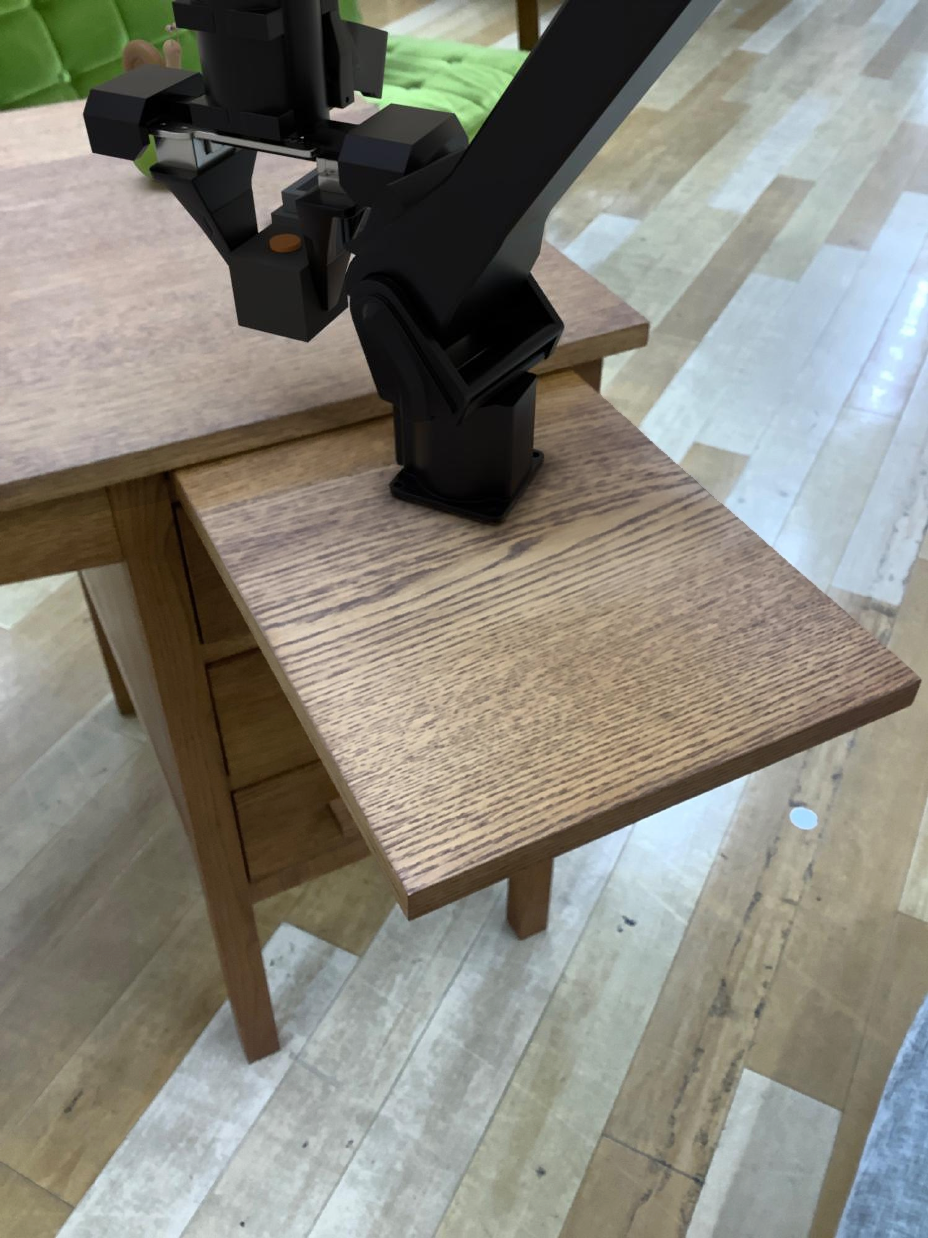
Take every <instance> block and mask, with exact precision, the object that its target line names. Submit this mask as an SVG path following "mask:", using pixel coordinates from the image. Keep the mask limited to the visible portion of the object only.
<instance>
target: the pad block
mask: <svg viewBox="0 0 928 1238" xmlns="http://www.w3.org/2000/svg"><path fill="white" fill-rule="evenodd" d="M258 232H259V233H257V234H256V235H255V236H253V237H252V238H250V239H249V240H248V241H246V242H245V243H243V244H242V245H241V246H239V247H238V248H236V249H235V250H233V251H232V252H231V253H229V254H228V255H227V259H228V265H229V266H228V265H227V266H228V272H229V276H230V282H231V283H230V284H231V289H232V294H233V300H234V307H235V312H236V319H237V325H238V326H239V327H242V328H243V327H244V328H246V329H250V330H254V331H259V332H262V333H266V334H271V335H275V336H280V337H282V338H287V339H290V340H295V341H299V342H303V343H307V344H309V343H310V342H311V341H312V340H313V339H314V338H315V337H316V336H318V335H319V334H320V333H321V332H322V331H323V330H324V329H326V327H327V326H329V325H330V324H331V323H332V322H334V320H336V319H337V318H338V317H339V316H340V315H341V314H342V313H344V312H345V311H346V310H347V309H348V308H349V296H348V295H347V294H346V293H345V290H344V283H345V278H344V281H343V285H342V289H341V292H340V296H339V299H338V302H337V304H336V305H335V306H334V307H333V308H332V309H331V310H329V311H325V310H322V308H321V306H320V303H319V300H318V298H317V295H316V292H315V289H314V286H313V281H312V277H311V272H310V268H309V263H308V259H307V254H306V250H305V245H304V241H303V236H302V232H301V229H300V228H295V227H291V226H286V225H281V224H276V223H272V222H271V223H270V224H268V225H267V226H266V227H264V228H263V229H261V230H260V231H258Z"/></svg>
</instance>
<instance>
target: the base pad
mask: <svg viewBox="0 0 928 1238" xmlns="http://www.w3.org/2000/svg"><path fill="white" fill-rule="evenodd" d="M317 174H318V172H317V166H316V167H315V168H313V169H311V171H309V172H308V173H306V174H305V175H303V176H302V177H300V178H298V179H297V180H295V181H294V182H292V183H291V184H289V185H288V186H287V187H286V188H284V189H282V190H281V191H280V194H281V202H282V205H280V206H279V207H277V208H276V209H274V210H273V211H271V212H270V219H271V224H272V223H276V224H281V225H286V226H291V227H295V228H300V223H299V219H298V214H297V210H296V205H295V200H296V199H297V198H299V197H300V196H302V195H303V194H304V193H306V192H307V191H309V190H310V189H312V188H313V187H314V186H316V185H317V184H318V175H317ZM370 210H371V208H369V207H368V208H367V210H366V212H365V215H364V217H363V220H362V222H361V224H360V227H359V230H358V232H357V235H356V237H357V236H358V234H359V233H360V232H361V231H362V230H363V228H364V226H365V224H366V222H367V219H368V216H369V213H370ZM300 229H301V228H300Z"/></svg>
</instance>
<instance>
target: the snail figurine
mask: <svg viewBox="0 0 928 1238" xmlns="http://www.w3.org/2000/svg"><path fill="white" fill-rule="evenodd" d="M179 30H180V28H176V24H175V21H173V23H172V25H171V24H167V25H166V26H165V32H167V33H168V34H169V36H170V39H167V40H165V41H164V43H163V45H162V51H163V55H164V57H165V58H164V57H163V55H162V53H161V52H160V51H159V50H158V49H157V48H156V47H155V46H154V45H153V44H152V43H150V42H148V41H147V40H145V39H133V40H130V41H129V42H127V43H126V45H125V47H124V49H123V51H122V57H121V58H122V61H121V62H122V69H123V72H124V73H126V72H128V71H130V70H133V69H135V68H137V67H139V66H141V65H144V64H152V65H158V66H164V67H171V68H177V69H182V63H181V62H182V61H181V59H182V55H183V50H182V46H181V44H180V42H179V41H180V40H179V39H180V38H179V33H178V31H179ZM174 31H175V33H176V38H177V39H176V40H175V39H173V37H172V36H173V35H172V33H173V32H174ZM149 138H150V145H149V146H148V148H147V149H146V151H145V152H144V154H143V155H142V156H141V157H140V158H139V159H137V160H135V161H132V162H133V164H134V166H135V167H136V168H137V169H138V171H139V172H140V173H141V174H143V175H144V176H145V177H147V178H148V179H150V180H152V181H154V180H153V179H152V177H151V175H150V172H149V168H150V167H151V166H152V165H154V164H156V163H157V162H158V159H157V154H156V149H155V144H154V140H153V135H149Z"/></svg>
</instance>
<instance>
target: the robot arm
mask: <svg viewBox="0 0 928 1238" xmlns="http://www.w3.org/2000/svg"><path fill="white" fill-rule="evenodd" d="M721 2H722V0H564V1H563V2H562V3H561V5H560V7H559V8H558V9H557V11H556V13H555V14H554V16H553V17H552V19H551V20H550V22H548V23H549V24H547V26H546V28H545V29H544V31H542V34H541V35H540V37H539V38H538V40H537V41H536V42H535V44H534V46H533V47H532V49H531V50H530V52H529V54H528V55H527V57H526V58H525V59H524V60H523V63H522V64H521V66H520V67H519V68H518V70H517V71H516V73H515V74H514V76H513V77H512V79H511V81H510V82H509V84H507V87H506V88H505V89H504V91H503V93H502V94H501V95H500V97H499V99H498V100H497V101H496V103H495V105H494V106H493V108H492V109H491V111H490V112H489V113H488V115H487V117H486V118H485V120H484V122H483V123H482V124H481V126H480V127H479V129H478V130H477V132H476V133H475V135H474V136H473V138H472V140H471V141H470V137H469V136H468V134H467V132H466V130H465V128H464V127H463V125H462V123H461V122H460V119H459V118H458V117H457V114H456V113H455V112H450V111H442V110H437V109H431V108H425V107H417V106H412V105H406V104H399V103H394V102H391V103H388V104H387V105H386V106H384V107H383V108H382V109H380V110H379V111H377V112H376V113H374V114H372V115H371V116H370V117H368V118H366V119H365V120H363V121H361V123H351V122H346V121H339V120H334V119H331V113H330V111H332V110H334V109H338V110H339V109H340V110H344V109H345V108H347V107H349V106H350V105H352V104H353V103H355V100H356V99H355V92H359V93H360V94H361V95H362V97H364V98H371V99H377V100H382V99H383V91H384V81H385V71H386V70H385V69H386V60H387V59H386V58H387V51H388V50H387V49H388V40H389V39H388V38H389V31H387V30H383V29H381V28H378V27H373V26H370V25H366V24H362V23H359V22H356V21H351V20H346V19H342V18H341V14H340V5H339V4H340V3H339V0H173V1H171V6H172V7H171V8H172V13H173V18H174V22H175V24H176V28H179V29H183V30H190V31H194V33H195V38H196V44H197V45H196V46H197V50H198V56H199V64H200V70H201V72H200V71H195V70H188V69H182V68H181V69H177V68H171V67H164V66H158V65H152V64H144V65H141V66H139V67H137V68H135V69H133V70H130V71H128V72H126V73H125V72H124V73H122V74H119V75H118V76H115V77H112V78H110V79H109V80H107V81H105V82H102V83H100V84H98V85H96V86H93V87H91V88H90V89H89V91H88V94H87V98H86V101H85V105H84V107H83V112H82V118H83V122H84V126H85V130H86V134H87V138H88V142H89V146H90V150H91V153H92V154H96V155H102V156H106V157H111V158H115V159H120V160H126V161H131V162H133V161H135V160H137V159H139V158H140V157H141V156H142V155H143V154H144V152H145V151H146V149H147V148H148V146H149V145H150V138H149V135H153V140H154V144H155V149H156V154H157V159H158V162H157V163H156V164H154V165H152V166H151V167H150V168H149V172H150V175H151V177H152V179H153V180H152V179H151V180H152V181H155V182H158V183H162V184H164V185H165V186H166V188H167V189H168V190H169V192H170V193H171V194H172V195H173V196H174V197H175V199H176V200H177V201H178V202H179V203H180V204H181V206H182V207H183V208H184V209H185V211H186V212H187V213H188V214H189V216H190V217H191V218H192V219H193V220H194V222H195V223H196V224H197V225H198V227H200V229H201V230H202V232H203V233H204V234H205V236H206V237H207V239H208V240H209V241H210V243H211V244H212V246H213V247H214V248H215V249H216V251H217V252H218V254H219V256H221V258H222V259H223V261H224V262H225V263H226V265H227V267H229V265H228V259H227V255H228V254H229V253H231V252H232V251H233V250H235V249H236V248H238V247H239V246H241V245H242V244H243V243H245V242H246V241H248V240H249V239H250V238H252V237H253V236H255V235H256V234H257V233H259V232H260V231H259V226H258V219H257V211H256V205H255V198H254V191H253V174H254V169H255V166H256V165H255V164H256V161H257V155H258V152H259V153H264V154H271V155H276V156H280V157H281V156H282V157H286V158H291V159H297V160H302V161H308V162H313V163H316V167H317V172H318V174H317V175H318V184H317V185H316V186H314V187H313V188H312V189H310V190H309V191H307V192H306V193H304V194H303V195H302V196H300V197H299V198H297V199H296V200H295V205H296V210H297V214H298V219H299V223H300V228H301V232H302V236H303V241H304V245H305V250H306V254H307V259H308V263H309V268H310V272H311V277H312V281H313V286H314V289H315V292H316V295H317V298H318V300H319V303H320V306H321V308H322V310H325V311H329V310H331V309H332V308H333V307H334V306H335V305H336V304H337V302H338V299H339V296H340V292H341V289H342V285H343V281H344V278H345V283H344V290H345V293H346V294H347V295H348V297H349V300H348V307H349V313H350V317H351V320H352V323H353V327H354V330H355V333H356V335H357V338H358V340H359V341H358V342H359V343H360V347H361V349H362V352H363V355H364V358H365V361H366V364H367V367H368V369H369V372H370V375H371V378H372V381H373V384H374V387H375V390H376V392H377V395H378V397H379V399H381V400H382V401H384V402H387V403H389V404H392V405H391V406H392V423H393V441H394V458H395V462H396V464H397V466H400V467H402V468H400V470H399V471H398V473H396V475H394V477H393V478H392V479H391V481H390V482H389V484H388V491H389V494H390V495H391V496H393V497H396V498H400V499H402V500H403V499H404V500H407V501H411V502H413V503H417V504H421V505H425V506H428V507H431V508H435V509H438V510H441V511H446V512H448V513H452V514H456V515H459V516H463V517H466V518H468V519H473V520H477V521H480V522H484V523H487V524H490V525H498V524H499V525H500V524H501V523H502V522H503V521H504V520H505V519H506V518H507V516H508V514H509V513H510V512H511V510H512V508H513V507H514V506H515V504H516V503H517V502H518V500H519V498H520V497H521V496H522V494H523V493H524V491H525V490H526V488H527V487H528V486H529V484H530V482H531V481H532V480H533V478H534V477H535V475H536V474H537V472H538V471H539V469H541V467H542V466H543V464H544V461H545V454H544V452H543V451H542V450H539V449H536V448H534V442H535V440H534V439H535V425H536V424H535V423H536V405H537V404H536V403H537V387H538V386H537V384H538V375H537V373H535V372H530V370H531V369H532V368H534V367H535V366H536V365H538V364H539V363H540V362H541V361H546V360H548V359H549V358H550V357H551V356H553V355H554V353H555V351H556V348H557V346H558V344H559V343H560V340H561V338H562V335H563V333H564V331H565V323H564V321H563V319H562V318H561V317H560V315H559V313H558V312H557V310H556V309H555V307H554V306H553V304H552V302H551V301H550V299H549V298H548V296H547V295H546V294H545V292H544V290H543V289H542V288H541V286H540V285H539V283H538V281H537V280H536V278H535V277H534V275H533V274H532V272H531V271H532V270H533V267H534V266H535V264H536V262H537V260H538V258H539V256H540V254H541V250H542V243H543V239H544V238H543V237H544V233H545V225H546V221H547V219H548V217H549V216H550V213H551V212H552V211H553V209H554V207H556V205H557V204H558V203H559V202H560V200H561V199H562V198H563V196H564V195H565V194H566V193H567V192H568V190H569V189H570V188H571V187H572V185H573V184H574V183H575V181H576V180H577V179H578V178H579V177H580V176H581V174H582V173H583V172H584V171H585V169H586V168H587V167H588V166H589V165H590V163H591V162H592V161H593V159H594V158H595V157H596V156H597V155H598V153H599V152H600V151H601V150H602V148H603V147H604V146H605V145H606V143H607V142H609V140H610V139H611V137H612V136H613V135H614V134H615V133H616V131H617V130H618V129H619V128H620V126H622V124H623V122H624V121H625V120H626V119H627V118H628V117H629V115H630V114H631V113H632V111H633V110H634V109H635V108H636V106H637V105H638V104H639V103H640V101H641V100H642V99H644V97H645V95H646V94H647V93H648V91H649V90H651V88H652V87H653V86H654V84H655V83H656V82H657V80H658V79H659V78H660V77H661V75H663V73H664V72H665V71H666V69H668V67H669V66H670V65H671V63H672V62H673V61H674V60H675V59H676V57H677V56H678V55H679V54H680V53H681V51H682V50H683V49H684V47H685V46H686V45H687V44H688V42H690V40H691V39H692V37H693V36H694V35H695V34H696V33H697V31H698V30H699V29H700V28H701V26H702V25H703V24H704V22H706V20H707V19H708V18H709V17H710V15H711V14H712V13H713V12H714V10H715V9H716V8H717V7H718V6H719V4H720V3H721ZM368 207H369V208H371V210H370V213H369V216H368V219H367V222H366V224H365V226H364V228H363V230H362V231H361V232H360V233H359V234H358V236H357V237H356V235H357V232H358V230H359V227H360V224H361V222H362V220H363V217H364V215H365V212H366V210H367V208H368ZM352 255H353V258H352V259H351V257H352Z"/></svg>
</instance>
